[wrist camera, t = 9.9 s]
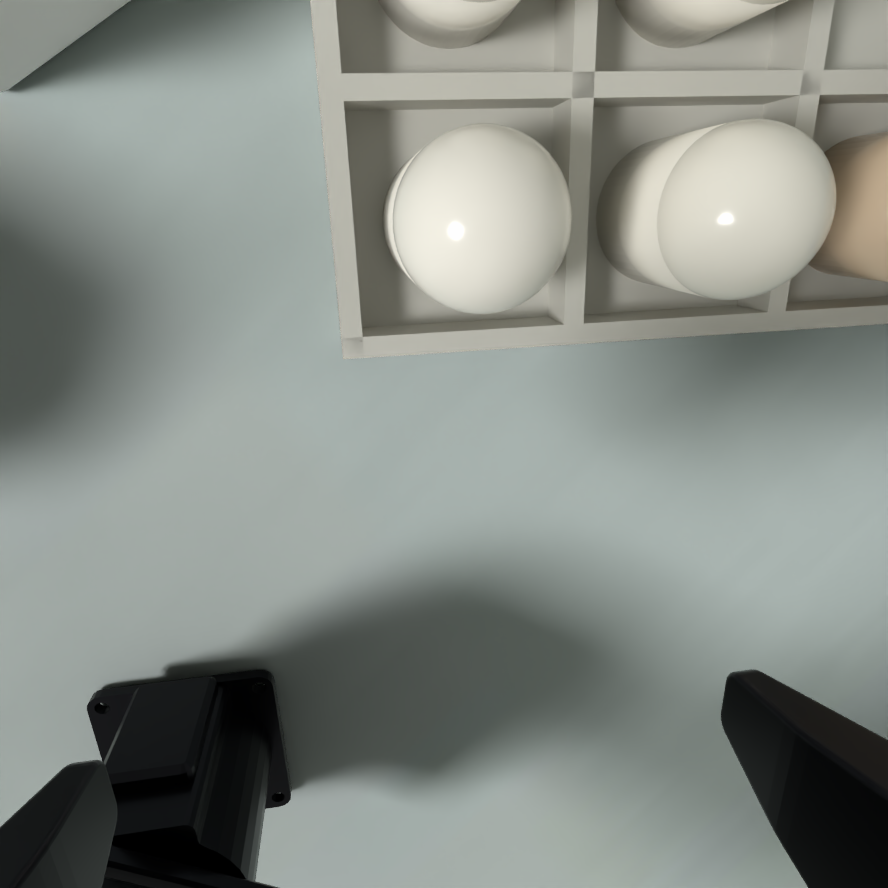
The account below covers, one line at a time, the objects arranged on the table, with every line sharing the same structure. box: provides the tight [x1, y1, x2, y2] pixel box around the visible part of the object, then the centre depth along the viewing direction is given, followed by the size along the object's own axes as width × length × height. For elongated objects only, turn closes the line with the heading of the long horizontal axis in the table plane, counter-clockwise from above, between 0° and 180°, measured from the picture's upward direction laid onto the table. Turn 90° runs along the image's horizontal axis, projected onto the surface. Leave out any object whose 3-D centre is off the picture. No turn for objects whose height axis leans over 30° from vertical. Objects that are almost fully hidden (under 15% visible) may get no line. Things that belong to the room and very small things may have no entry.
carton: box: [310, 0, 888, 359], centre depth 18 cm, size 14×20×2 cm
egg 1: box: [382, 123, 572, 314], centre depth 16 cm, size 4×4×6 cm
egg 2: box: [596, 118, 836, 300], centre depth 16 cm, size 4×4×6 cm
